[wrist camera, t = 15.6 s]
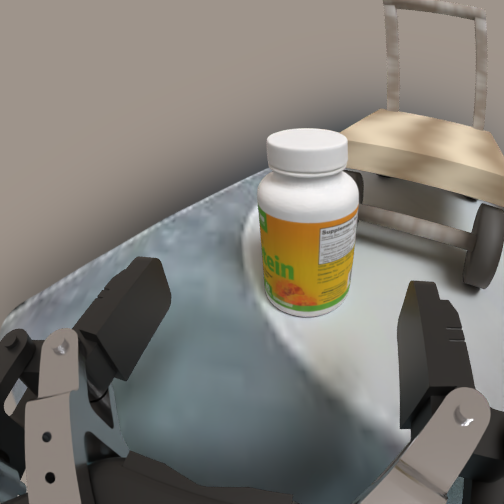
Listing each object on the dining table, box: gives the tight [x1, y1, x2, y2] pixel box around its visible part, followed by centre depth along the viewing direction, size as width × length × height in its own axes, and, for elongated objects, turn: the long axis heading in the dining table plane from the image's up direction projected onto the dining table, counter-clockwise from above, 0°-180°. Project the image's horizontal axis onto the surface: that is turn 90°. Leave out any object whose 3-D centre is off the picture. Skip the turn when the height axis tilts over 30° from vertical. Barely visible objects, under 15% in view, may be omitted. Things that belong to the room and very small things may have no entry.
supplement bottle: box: [257, 128, 359, 317], centre depth 17 cm, size 5×5×10 cm
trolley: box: [340, 0, 504, 289], centre depth 20 cm, size 13×22×22 cm, turn 146°
